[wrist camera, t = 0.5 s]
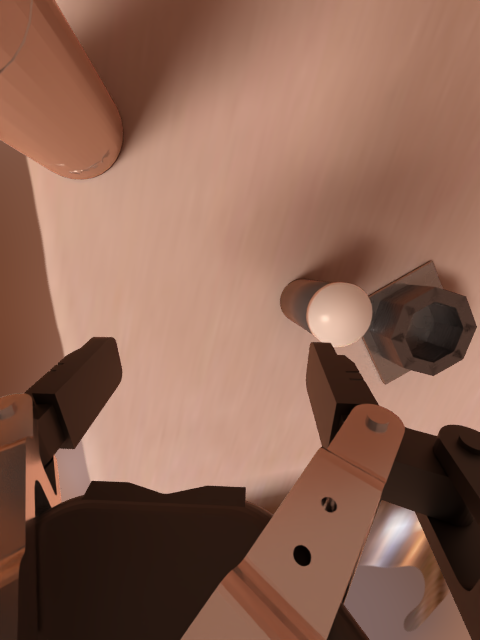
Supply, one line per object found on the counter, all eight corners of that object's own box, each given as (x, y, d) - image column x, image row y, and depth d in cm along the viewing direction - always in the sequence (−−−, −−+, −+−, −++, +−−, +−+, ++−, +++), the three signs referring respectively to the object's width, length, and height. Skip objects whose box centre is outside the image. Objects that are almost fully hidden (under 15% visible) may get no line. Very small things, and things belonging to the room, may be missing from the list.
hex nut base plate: (347, 307, 33) (369, 314, 28) (429, 261, 33) (463, 260, 28) (383, 383, 35) (407, 399, 31) (459, 339, 35) (494, 350, 31)
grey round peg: (271, 292, 31) (298, 303, 22) (311, 269, 31) (356, 270, 22) (291, 331, 32) (326, 358, 23) (330, 309, 32) (381, 326, 23)
